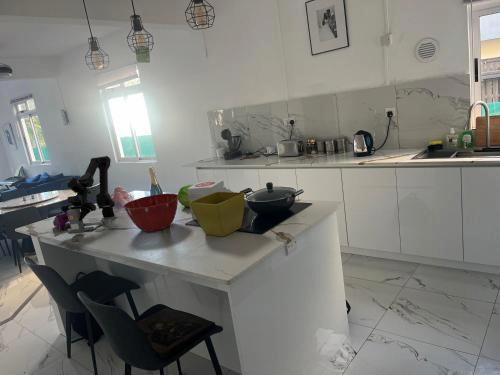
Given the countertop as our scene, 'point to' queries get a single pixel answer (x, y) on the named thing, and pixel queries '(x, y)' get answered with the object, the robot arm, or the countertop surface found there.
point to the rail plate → (89, 226)
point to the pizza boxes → (204, 191)
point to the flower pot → (219, 212)
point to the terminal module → (75, 221)
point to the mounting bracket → (61, 221)
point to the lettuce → (184, 196)
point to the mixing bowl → (153, 211)
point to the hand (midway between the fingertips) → (75, 221)
